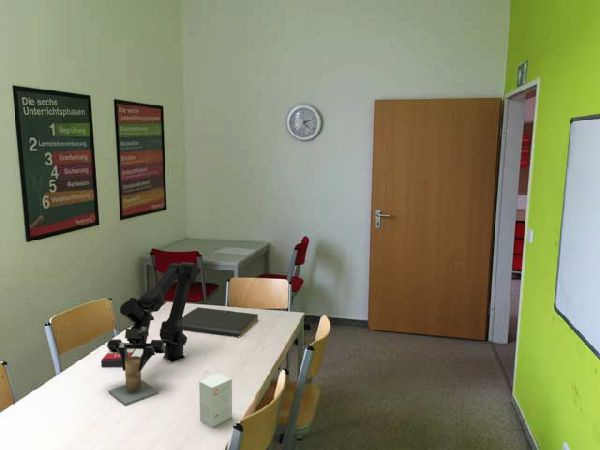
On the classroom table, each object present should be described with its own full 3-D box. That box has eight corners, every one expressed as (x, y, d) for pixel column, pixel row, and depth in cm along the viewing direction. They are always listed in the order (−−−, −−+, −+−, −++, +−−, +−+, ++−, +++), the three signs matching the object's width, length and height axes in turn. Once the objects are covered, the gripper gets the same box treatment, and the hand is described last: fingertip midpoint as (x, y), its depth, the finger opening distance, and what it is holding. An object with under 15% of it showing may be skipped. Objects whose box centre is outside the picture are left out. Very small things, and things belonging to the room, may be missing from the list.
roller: (136, 382, 168) (136, 355, 167) (144, 387, 165) (143, 359, 163) (123, 387, 165) (122, 359, 163) (130, 392, 161) (129, 363, 160)
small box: (219, 410, 155) (219, 372, 153) (232, 417, 151) (232, 378, 149) (199, 420, 149) (198, 380, 147) (212, 428, 145) (212, 387, 143)
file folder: (258, 313, 239) (238, 331, 216) (258, 321, 239) (238, 339, 216) (197, 306, 248) (173, 322, 225) (198, 314, 248) (173, 330, 225)
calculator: (109, 347, 194) (147, 345, 195) (110, 357, 195) (148, 355, 196) (100, 359, 183) (140, 357, 184) (101, 369, 184) (141, 367, 185)
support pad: (141, 381, 173) (141, 379, 173) (158, 393, 165) (158, 391, 165) (108, 392, 165) (108, 390, 165) (125, 406, 157) (125, 403, 156)
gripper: (107, 317, 165) (96, 361, 156) (162, 317, 165) (154, 362, 156) (116, 330, 174) (106, 373, 165) (168, 331, 174) (161, 374, 165)
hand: (131, 370), depth 162 cm, fingers closed on roller, 5 cm apart
